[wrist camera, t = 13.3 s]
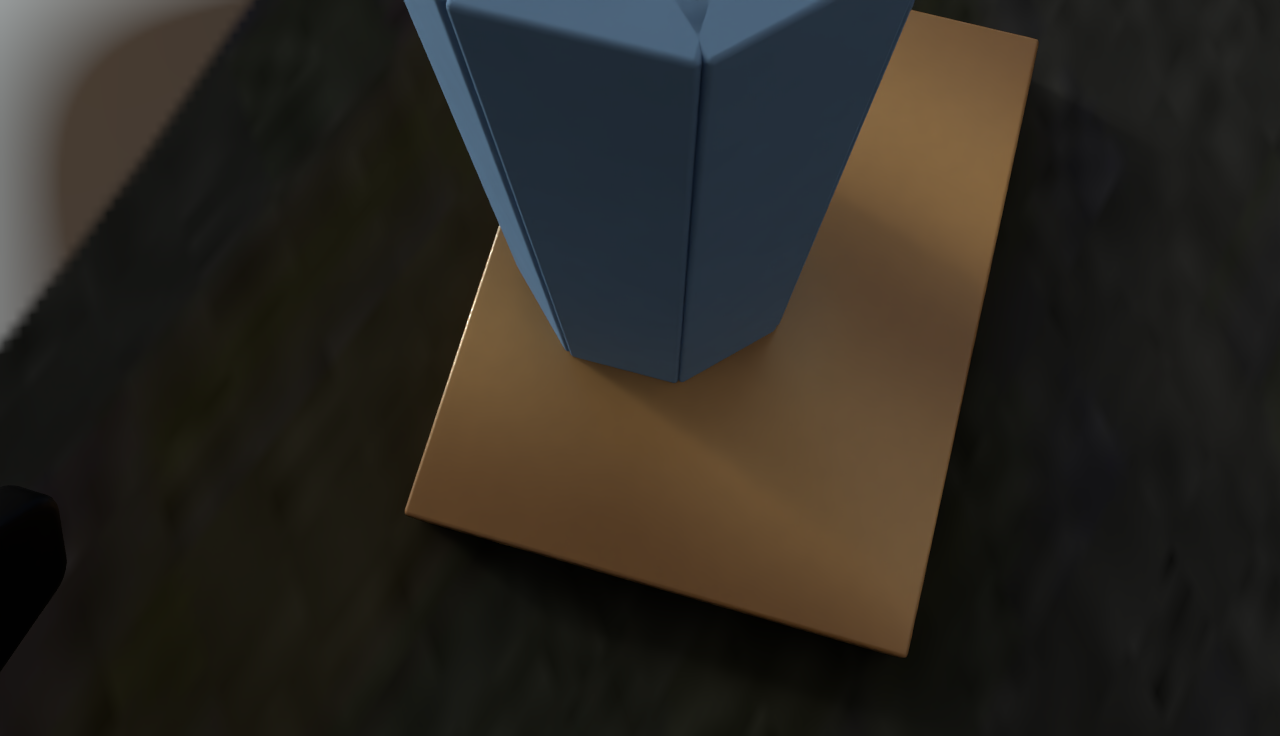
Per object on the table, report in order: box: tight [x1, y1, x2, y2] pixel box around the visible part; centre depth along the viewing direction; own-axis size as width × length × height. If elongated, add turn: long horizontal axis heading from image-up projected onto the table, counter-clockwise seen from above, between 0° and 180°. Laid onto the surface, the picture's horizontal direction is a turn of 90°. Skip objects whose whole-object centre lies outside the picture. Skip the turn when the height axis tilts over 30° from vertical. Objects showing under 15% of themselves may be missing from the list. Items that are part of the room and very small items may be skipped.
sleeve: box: [404, 0, 915, 383], centre depth 13 cm, size 5×5×11 cm
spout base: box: [405, 10, 1039, 658], centre depth 18 cm, size 12×9×4 cm
